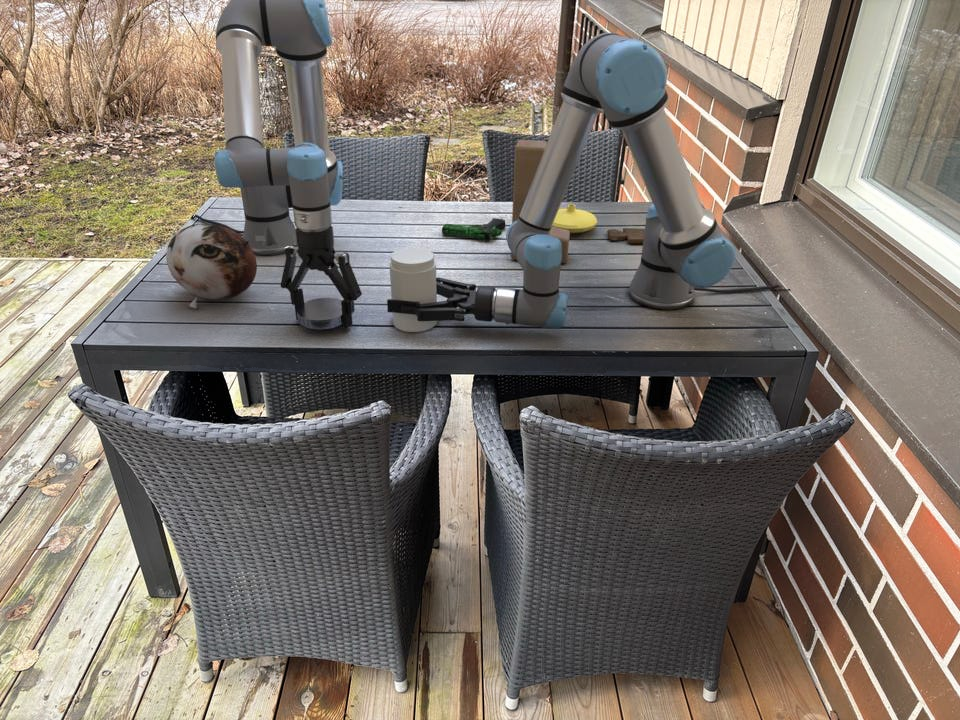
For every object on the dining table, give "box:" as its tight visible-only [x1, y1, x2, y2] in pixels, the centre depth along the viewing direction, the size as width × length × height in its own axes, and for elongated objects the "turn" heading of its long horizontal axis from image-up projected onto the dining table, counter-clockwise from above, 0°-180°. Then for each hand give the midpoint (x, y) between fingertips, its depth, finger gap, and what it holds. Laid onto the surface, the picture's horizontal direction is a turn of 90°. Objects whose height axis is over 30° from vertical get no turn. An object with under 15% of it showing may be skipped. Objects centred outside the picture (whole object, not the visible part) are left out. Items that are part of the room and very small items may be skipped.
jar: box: [389, 246, 438, 333], centre depth 155 cm, size 10×10×16 cm
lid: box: [297, 297, 343, 330], centre depth 156 cm, size 11×11×2 cm
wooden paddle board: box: [606, 227, 645, 244], centre depth 205 cm, size 26×2×10 cm
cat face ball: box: [165, 222, 258, 309], centre depth 165 cm, size 22×18×20 cm
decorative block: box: [510, 139, 571, 264], centre depth 184 cm, size 8×15×30 cm, turn 82°
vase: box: [552, 203, 598, 234], centre depth 209 cm, size 16×16×7 cm
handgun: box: [441, 217, 506, 242], centre depth 207 cm, size 16×3×15 cm
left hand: (324, 322), depth 157 cm, fingers closed on lid, 11 cm apart
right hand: (395, 295), depth 157 cm, fingers closed on jar, 10 cm apart
